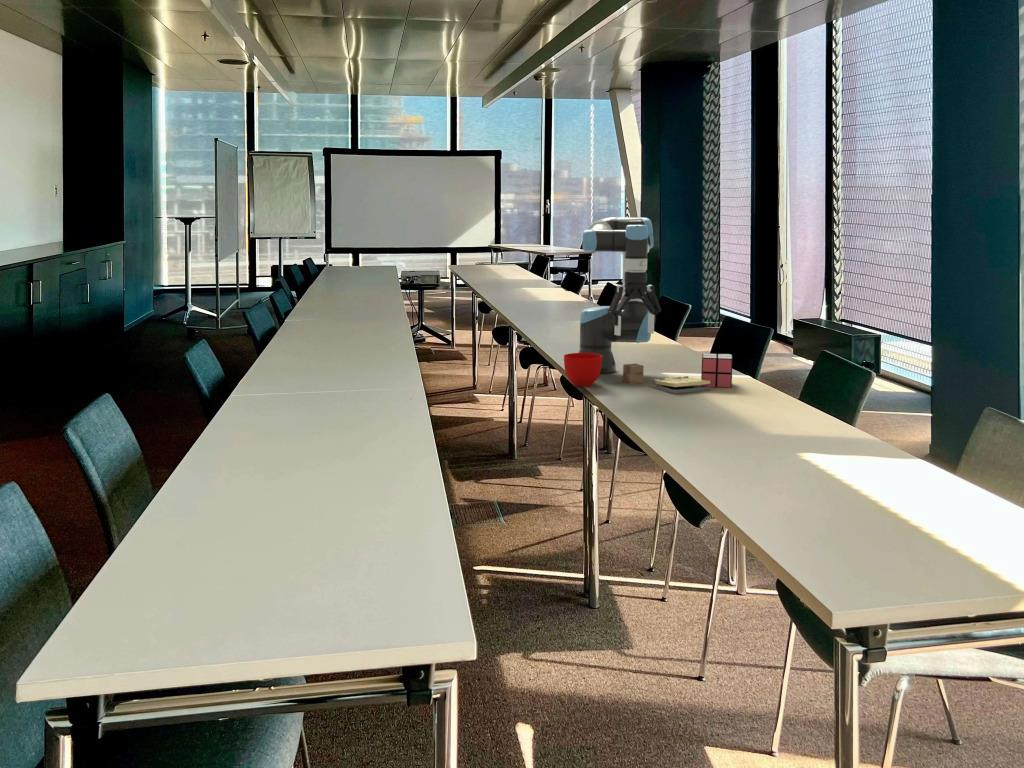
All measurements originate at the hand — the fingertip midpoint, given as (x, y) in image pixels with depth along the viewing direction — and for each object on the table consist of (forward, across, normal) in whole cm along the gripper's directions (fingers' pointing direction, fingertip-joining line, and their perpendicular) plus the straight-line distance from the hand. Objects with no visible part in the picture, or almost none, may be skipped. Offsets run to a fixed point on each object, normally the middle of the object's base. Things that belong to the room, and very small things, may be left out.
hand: (634, 334), depth 327 cm
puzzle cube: (+17, +23, -16) cm, 33 cm away
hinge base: (+17, +8, -17) cm, 25 cm away
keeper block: (+17, 0, 0) cm, 17 cm away
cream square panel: (+15, +8, -17) cm, 24 cm away
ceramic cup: (+17, -17, +4) cm, 24 cm away
